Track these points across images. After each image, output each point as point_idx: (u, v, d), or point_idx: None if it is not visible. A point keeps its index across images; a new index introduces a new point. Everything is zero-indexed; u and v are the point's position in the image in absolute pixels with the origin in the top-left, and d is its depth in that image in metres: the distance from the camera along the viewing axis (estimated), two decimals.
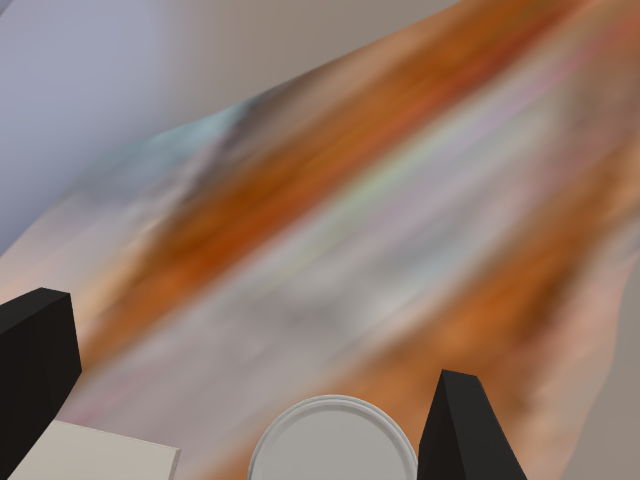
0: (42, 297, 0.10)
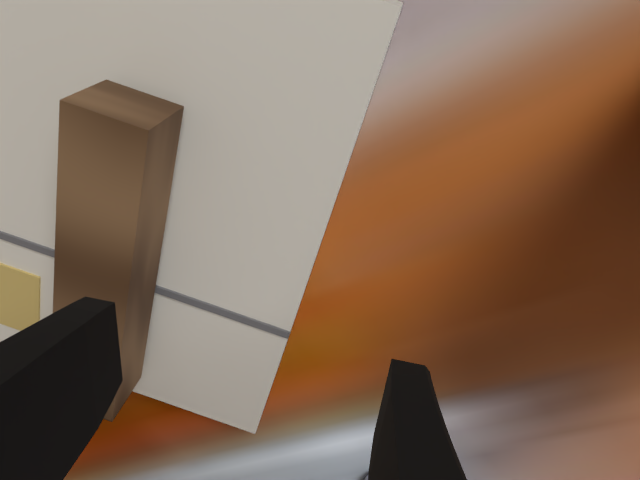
0: (89, 306, 0.10)
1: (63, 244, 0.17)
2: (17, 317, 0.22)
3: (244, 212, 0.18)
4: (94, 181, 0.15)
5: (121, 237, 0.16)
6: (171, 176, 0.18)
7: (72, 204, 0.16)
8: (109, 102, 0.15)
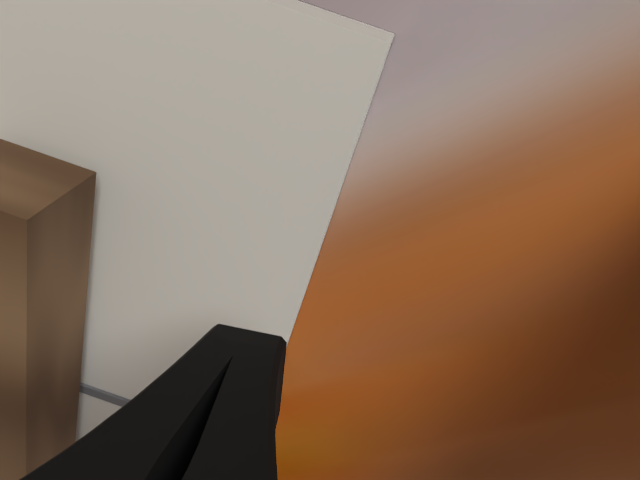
0: (228, 335, 0.09)
1: None
2: None
3: (187, 303, 0.14)
4: None
5: (8, 353, 0.12)
6: (88, 259, 0.13)
7: None
8: None
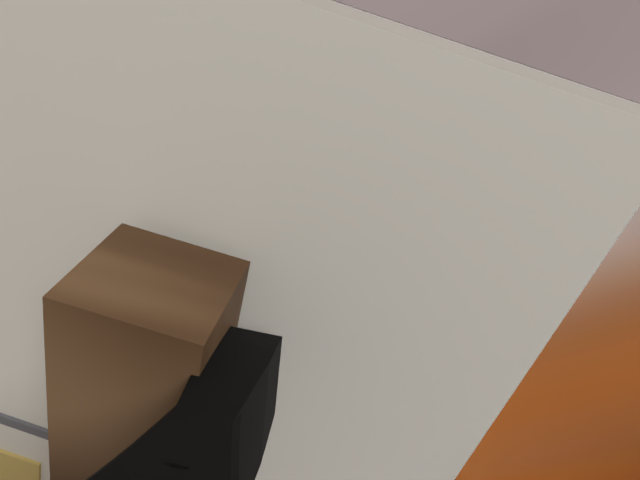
0: (261, 342, 0.09)
1: None
2: None
3: (354, 409, 0.12)
4: (109, 412, 0.09)
5: None
6: None
7: (75, 440, 0.09)
8: (129, 283, 0.09)
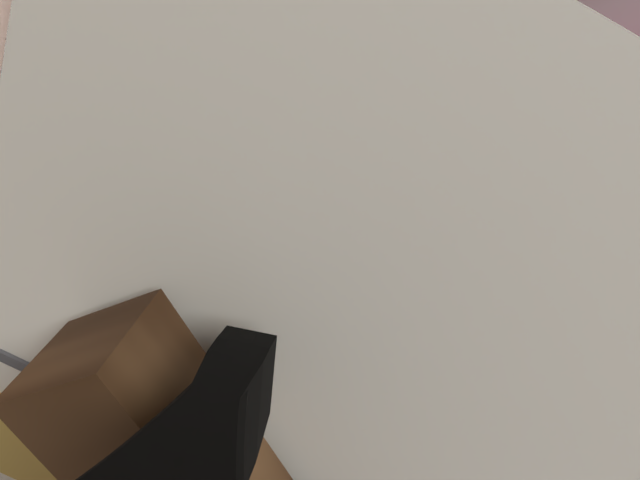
0: (256, 340, 0.09)
1: None
2: None
3: None
4: None
5: None
6: None
7: None
8: (55, 360, 0.10)
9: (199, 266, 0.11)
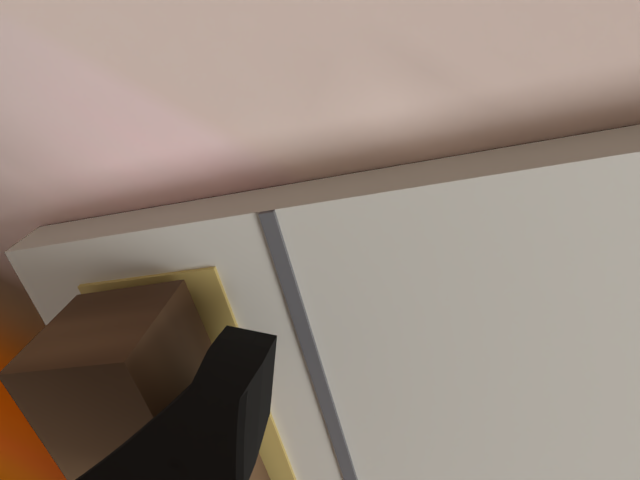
0: (256, 341, 0.09)
1: None
2: None
3: None
4: None
5: None
6: None
7: None
8: (71, 337, 0.10)
9: (571, 376, 0.10)
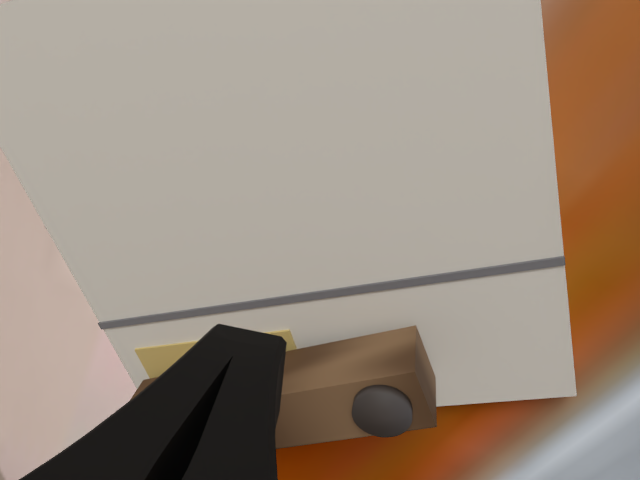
0: (228, 335, 0.09)
1: None
2: None
3: (454, 150, 0.16)
4: None
5: None
6: None
7: None
8: None
9: (142, 197, 0.19)
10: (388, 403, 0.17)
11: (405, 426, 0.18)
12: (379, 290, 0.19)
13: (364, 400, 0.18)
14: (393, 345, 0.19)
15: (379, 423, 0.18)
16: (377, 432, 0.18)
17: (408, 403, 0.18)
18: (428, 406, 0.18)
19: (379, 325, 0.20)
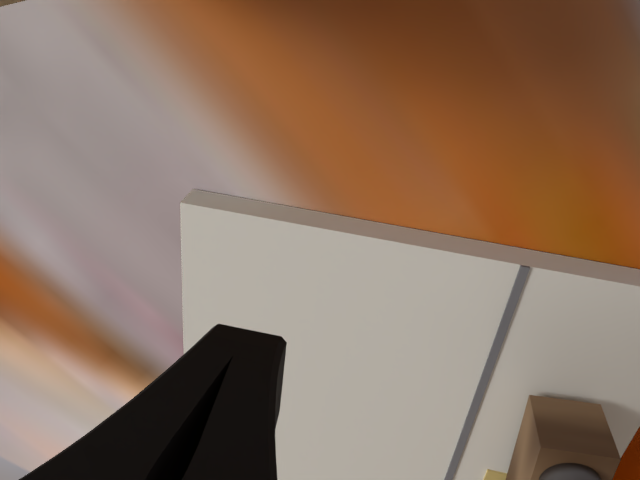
0: (228, 335, 0.09)
1: None
2: None
3: (379, 306, 0.20)
4: None
5: None
6: None
7: None
8: None
9: None
10: None
11: None
12: (481, 399, 0.21)
13: None
14: (528, 428, 0.20)
15: None
16: None
17: (571, 468, 0.18)
18: (590, 454, 0.18)
19: (519, 413, 0.21)
